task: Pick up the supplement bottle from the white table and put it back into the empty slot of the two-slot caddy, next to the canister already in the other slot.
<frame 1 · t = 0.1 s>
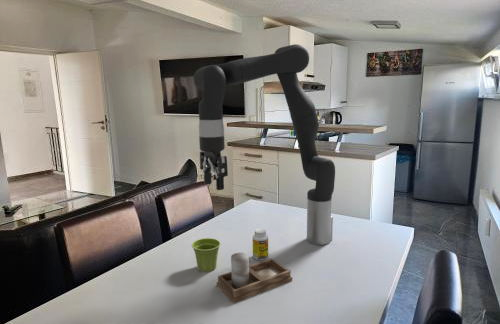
hand: (213, 186, 104), 29 cm above the table, fingers open, 8 cm apart
supplement bottle: (260, 257, 120), on the table
plant pot: (207, 268, 113), on the table
caddy: (254, 283, 103), on the table
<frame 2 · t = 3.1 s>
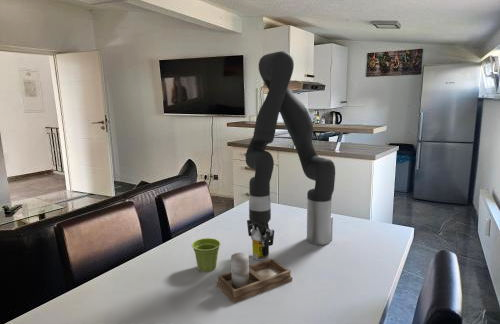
hand: (260, 252, 119), 2 cm above the table, fingers closed on supplement bottle, 5 cm apart
supplement bottle: (260, 257, 119), on the table, touching gripper
everything else where it was.
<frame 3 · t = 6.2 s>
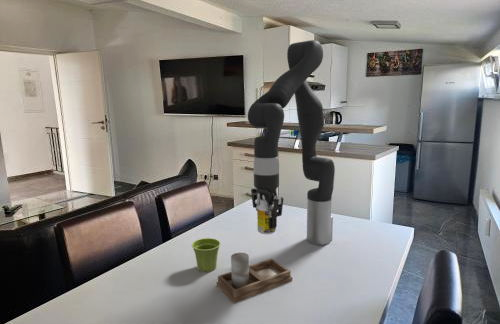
hand: (266, 225, 102), 18 cm above the table, fingers closed on supplement bottle, 5 cm apart
supplement bottle: (266, 232, 103), point 15 cm above the table, touching gripper
everything else where it was.
when the fingers open (5 cm above the table, at t = 9.1 s): supplement bottle drops 1 cm, resting on caddy.
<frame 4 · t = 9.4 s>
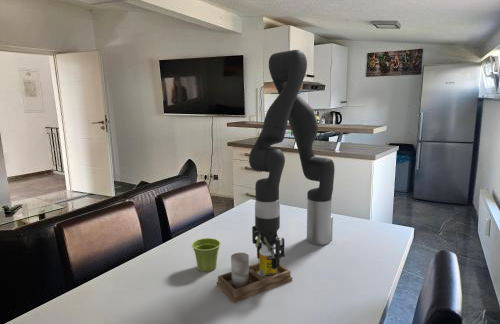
hand: (267, 263, 105), 5 cm above the table, fingers open, 7 cm apart
supplement bottle: (268, 274, 105), point 1 cm above the table, touching caddy
everything else where it was.
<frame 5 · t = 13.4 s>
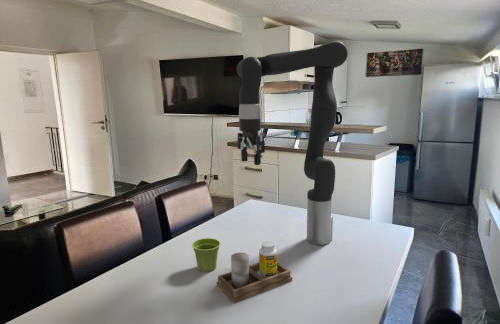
hand: (250, 163, 120), 33 cm above the table, fingers open, 8 cm apart
nothing on the table moved.
at the end: supplement bottle 0.1 cm from the target spot on the caddy, point 1.2 cm above the caddy's base; supplement bottle tilted 1°; the gripper is holding nothing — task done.
